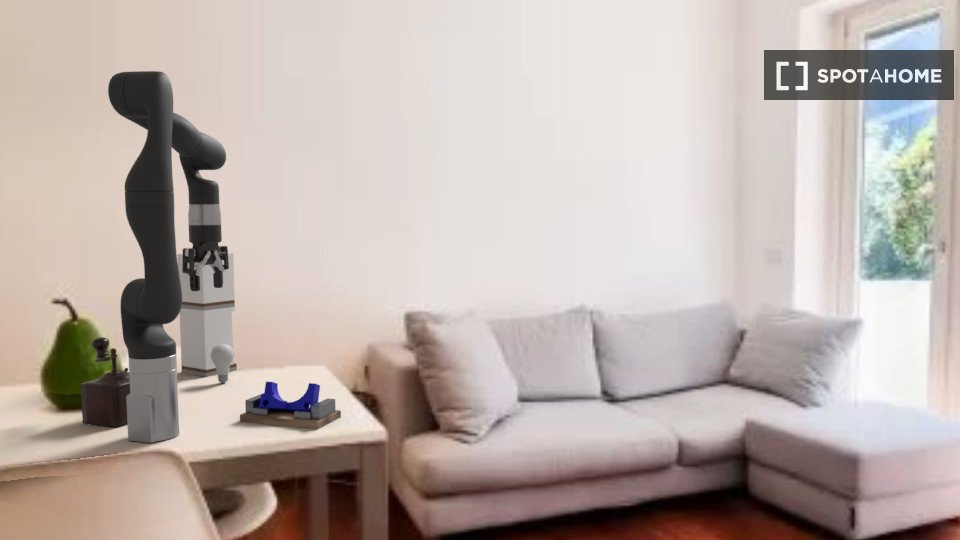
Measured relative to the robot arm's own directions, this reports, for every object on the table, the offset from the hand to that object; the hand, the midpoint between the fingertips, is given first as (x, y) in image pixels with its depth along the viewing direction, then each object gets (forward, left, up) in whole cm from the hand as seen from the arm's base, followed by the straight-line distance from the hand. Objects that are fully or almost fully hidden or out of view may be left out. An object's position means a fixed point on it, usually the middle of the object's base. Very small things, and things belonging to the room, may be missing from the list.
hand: (207, 289), depth 186 cm
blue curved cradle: (-9, -28, -26) cm, 39 cm away
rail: (-8, -28, -28) cm, 40 cm away
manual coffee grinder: (-20, +12, -28) cm, 37 cm away
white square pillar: (+30, +24, -28) cm, 48 cm away
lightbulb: (+18, +10, -28) cm, 35 cm away
